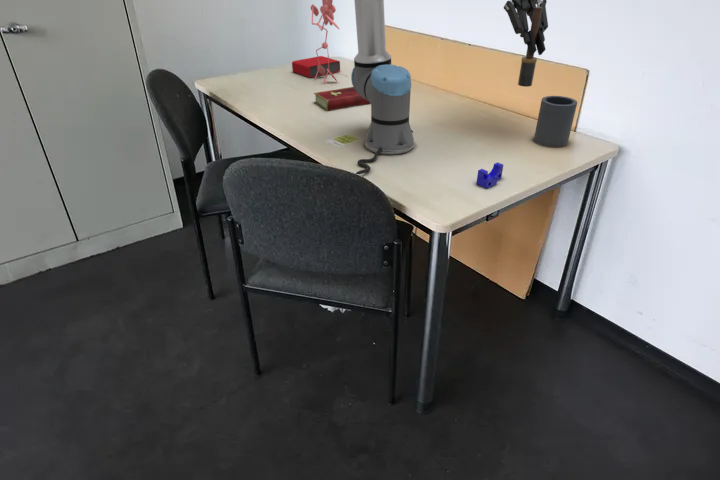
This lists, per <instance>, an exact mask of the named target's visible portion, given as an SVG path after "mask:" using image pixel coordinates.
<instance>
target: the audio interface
mask: <svg viewBox="0 0 720 480" xmlns="http://www.w3.org/2000/svg"><path fill="white" fill-rule="evenodd" d="M318 58H319V62H318ZM318 58H317V56H313V57H308V58H303V59H297V60H292V61H291V69H292V72H293V73H295V74H299V75H302V76H304V77H307V78H315V77H316V74H317V71H318V69H317V65H319V63H320V65H321V66H322V67H323V68H324V70H325V74H324V76H326V74H327V69H328V56H327V57H326V56H324V55H318ZM329 70H330V72H331V73H332V74H334V73H340V71H341V61H340V60H337V59H333V58H330V57H329ZM328 75H330V73H329V72H328ZM320 76H323V75H322V74H321V73H320V72H318V74H317V77H320ZM317 77H316V78H317Z"/></svg>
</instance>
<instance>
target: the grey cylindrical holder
mask: <svg viewBox="0 0 720 480" xmlns="http://www.w3.org/2000/svg"><path fill="white" fill-rule="evenodd" d="M577 106H578V101H577V100H576V99H574V98H572V97H569V96H563V95H548V96H543V97H542V98H541V100H540V105H539V111H538V116H537V121H536V126H535V132H534V137H533V141H534V142H535V143H536V144H538V145H540V146H543V147H547V148H563V147H566V146H567V145H568V143H569V141H570V140H569V139H570V136H571V132H572V127H573V123H574V118H575V116H576V115H575V114H576V111H577Z"/></svg>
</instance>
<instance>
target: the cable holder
mask: <svg viewBox="0 0 720 480" xmlns="http://www.w3.org/2000/svg"><path fill="white" fill-rule="evenodd" d="M503 170H504V164H503V163H500V162H498V161H497V162H495V163H493V166H492V168H491V171H489V170H486V169H484V168H480V169H478V170H477V176H476V183H475V184H476V185H477V186H480V187H482V188H484V189H489V188H491V187H494V186H496V185H497V184H498V181H499V180H501V179H502V176H503V172H504V171H503Z"/></svg>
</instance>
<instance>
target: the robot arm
mask: <svg viewBox="0 0 720 480" xmlns="http://www.w3.org/2000/svg"><path fill="white" fill-rule="evenodd" d="M546 5H547V0H507V1H506V2H505V4H504V6H503V10H504V11H505V12H506V13H507V15H508V18H509V21H510V24H511V26H512V28H513V31H514V33H515V35H519V34H520V35H519V37H520V38H522V40H523V43H524V45H526V46H527V47H528V50H529V54H530V56H532V55H533V54H534V55H535V53H536V52H537V54H538V56H542V54H543V53H544V52H545V51H546V50H547V49H546V45H545V41H546V37H545V31H546V30H547V29H548V28H549V22H548V15H547V7H546ZM534 7H542V12H541V18H540V23H539V29H538V34H537V40H536V45H535V42H534V38H533V34H532V30H531V29H529V23H528V22H529V21H528V18H529V20H530V23H531V24H532V18H533V12H534ZM354 11H355V14H354V15H355V26H356V41H357V51H358V53H357V54H356V55H355V56H354V57H353V66H354V67H353V68H352V71H351V74H350V75H351V76H350V79H351V85H352V87H354V89H355V90H356V92H357V93H358V94H359V95H360V96H361V97H362V98H364V99H366V100H367V101H368V102H370V125H369V126H368V130H367V133H366V136H365V141H364V142H365V143H364V145H365V148H366V149H367V150H368V151H370V152H372V153H374V156H373V157H372V158H360V159H358V160H357V162H356V163H357V165H358V166H360V167H363V168H365V169H361V170H358V171H356V172H355V173H356V174H359V175H362V174H366V173H368V172H370V171H371V166H370V165H368V164H367V163H373V162H374V161H376V160H377V158H378V156H379V155H387V156H394V155H395V156H396V155H402V154H406V153H408V152H410V151H412V150H413V148H414V146H415V138H414V135H413V134H414V131H413V130H412V128H411V124H410V111H411V110H410V108H411V91H412V90H411V89H412V75H411V73H410V71H409V70H408V69H407V68H405V67H403V66H401V65H396V64H392V55H391V54H390V53H389V52H388V51H387V47H386V45H387V43H386V22H385V21H386V20H385V0H354Z"/></svg>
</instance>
